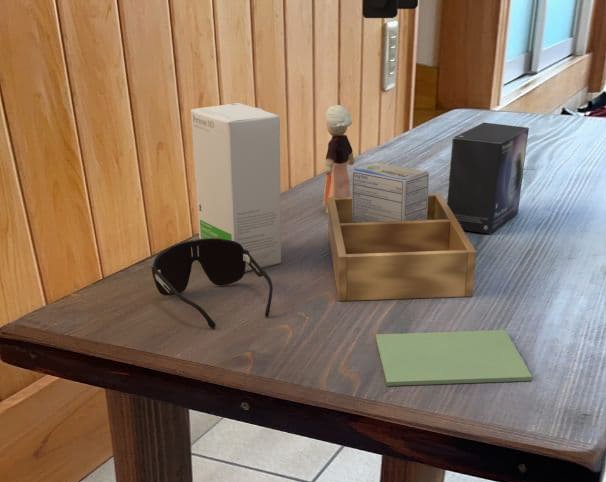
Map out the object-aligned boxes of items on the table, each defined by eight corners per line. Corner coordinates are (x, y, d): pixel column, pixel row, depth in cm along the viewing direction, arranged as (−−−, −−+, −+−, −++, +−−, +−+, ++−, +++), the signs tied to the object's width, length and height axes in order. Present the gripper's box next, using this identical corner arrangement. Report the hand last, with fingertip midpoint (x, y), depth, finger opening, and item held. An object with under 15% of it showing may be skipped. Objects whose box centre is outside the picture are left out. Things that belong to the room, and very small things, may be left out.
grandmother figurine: (330, 202, 117) (329, 100, 109) (358, 204, 116) (359, 100, 108) (316, 218, 111) (314, 110, 103) (344, 220, 110) (344, 111, 102)
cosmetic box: (199, 256, 99) (185, 108, 90) (247, 245, 102) (238, 101, 93) (237, 275, 93) (226, 119, 84) (287, 263, 96) (281, 111, 87)
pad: (505, 333, 78) (505, 329, 78) (531, 381, 70) (532, 376, 70) (375, 338, 78) (375, 334, 78) (386, 386, 70) (387, 381, 70)
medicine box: (426, 250, 99) (431, 171, 94) (402, 260, 96) (405, 179, 91) (375, 237, 103) (376, 161, 98) (350, 246, 101) (351, 168, 96)
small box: (493, 236, 103) (503, 141, 96) (442, 229, 105) (449, 137, 99) (521, 213, 110) (532, 124, 104) (473, 208, 113) (481, 121, 106)
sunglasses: (241, 276, 93) (240, 231, 89) (290, 325, 85) (291, 278, 82) (149, 294, 89) (144, 247, 86) (191, 347, 81) (188, 299, 78)
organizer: (438, 231, 104) (441, 193, 102) (472, 296, 86) (476, 251, 84) (328, 235, 104) (327, 197, 102) (338, 301, 86) (338, 256, 84)
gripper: (423, -240, 65) (411, 22, 75) (458, -214, 78) (444, 5, 88) (328, -233, 67) (329, 21, 77) (378, -209, 80) (374, 5, 90)
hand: (391, 12), depth 82 cm, fingers open, 9 cm apart
